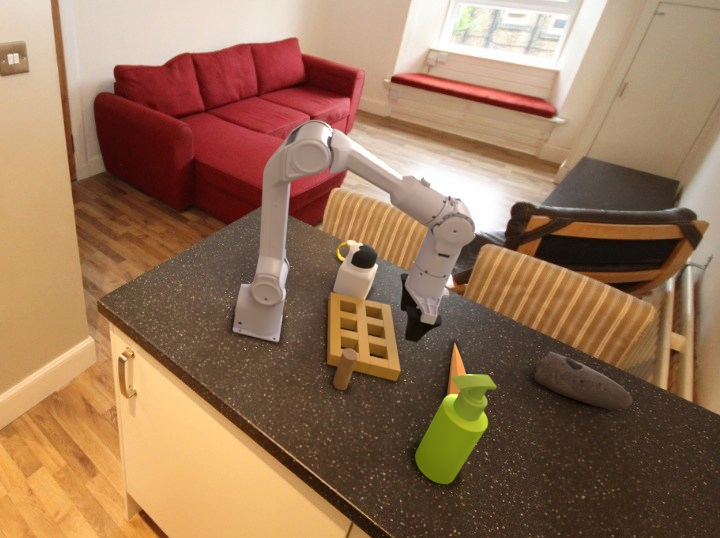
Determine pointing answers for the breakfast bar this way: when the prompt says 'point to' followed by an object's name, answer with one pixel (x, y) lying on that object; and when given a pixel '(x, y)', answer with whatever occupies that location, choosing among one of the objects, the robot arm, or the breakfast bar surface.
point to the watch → (348, 243)
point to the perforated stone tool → (580, 383)
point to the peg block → (362, 335)
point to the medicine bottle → (357, 271)
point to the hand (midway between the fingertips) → (408, 324)
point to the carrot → (455, 371)
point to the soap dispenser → (455, 429)
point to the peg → (345, 368)
